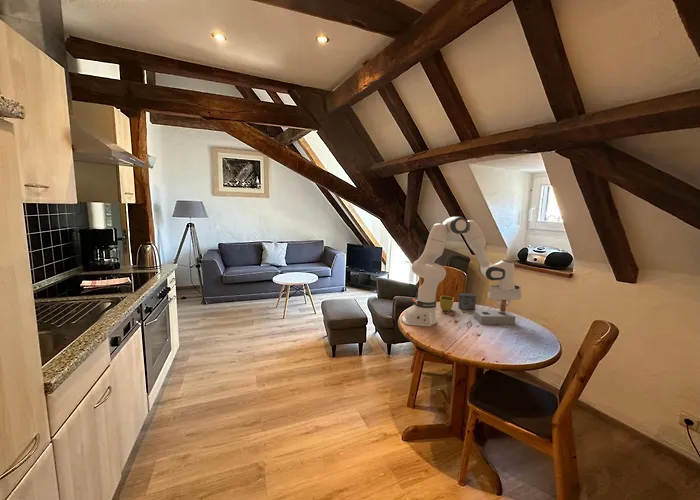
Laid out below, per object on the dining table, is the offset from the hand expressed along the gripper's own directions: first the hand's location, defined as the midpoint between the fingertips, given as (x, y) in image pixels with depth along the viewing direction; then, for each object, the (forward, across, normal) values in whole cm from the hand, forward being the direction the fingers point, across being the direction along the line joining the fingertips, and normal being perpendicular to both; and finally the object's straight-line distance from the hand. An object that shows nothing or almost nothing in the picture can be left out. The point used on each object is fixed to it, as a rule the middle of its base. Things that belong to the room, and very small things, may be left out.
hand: (503, 305), depth 204 cm
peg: (+4, 0, 0) cm, 4 cm away
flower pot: (+10, -30, +19) cm, 37 cm away
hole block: (+10, -5, 0) cm, 11 cm away
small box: (+10, -14, +23) cm, 29 cm away
